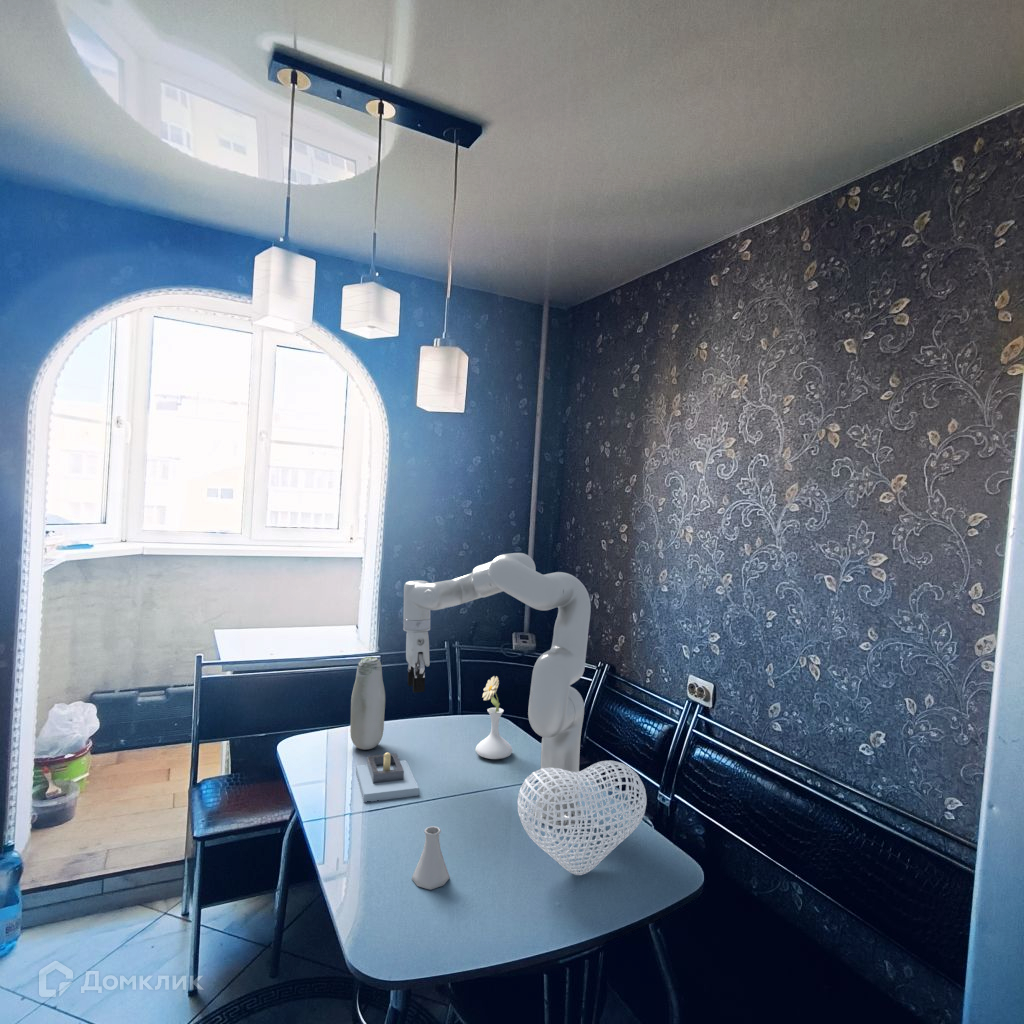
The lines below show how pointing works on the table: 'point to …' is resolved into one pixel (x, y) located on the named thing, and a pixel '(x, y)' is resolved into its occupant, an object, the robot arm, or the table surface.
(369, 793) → the board
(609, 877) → the table surface
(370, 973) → the table surface
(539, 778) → the heart
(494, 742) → the flower in vase
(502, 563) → the robot arm
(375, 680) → the tall cream vase
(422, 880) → the flask
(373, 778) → the steel link
